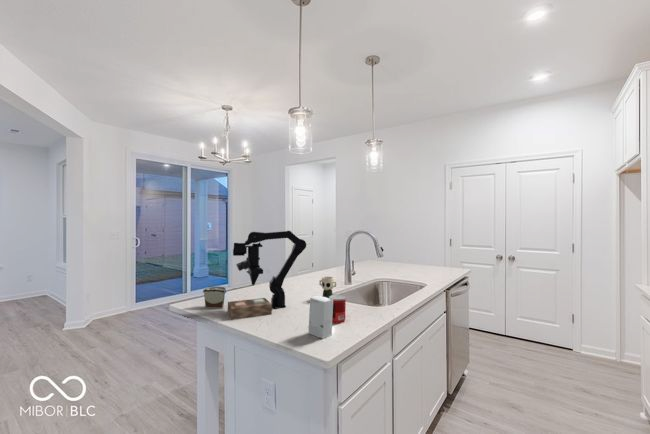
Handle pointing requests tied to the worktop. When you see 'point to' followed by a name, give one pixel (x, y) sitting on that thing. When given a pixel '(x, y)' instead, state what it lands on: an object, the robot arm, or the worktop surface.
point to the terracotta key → (240, 304)
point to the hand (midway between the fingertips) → (253, 285)
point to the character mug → (327, 286)
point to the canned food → (338, 308)
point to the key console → (249, 309)
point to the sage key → (258, 301)
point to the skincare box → (320, 316)
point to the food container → (214, 297)
